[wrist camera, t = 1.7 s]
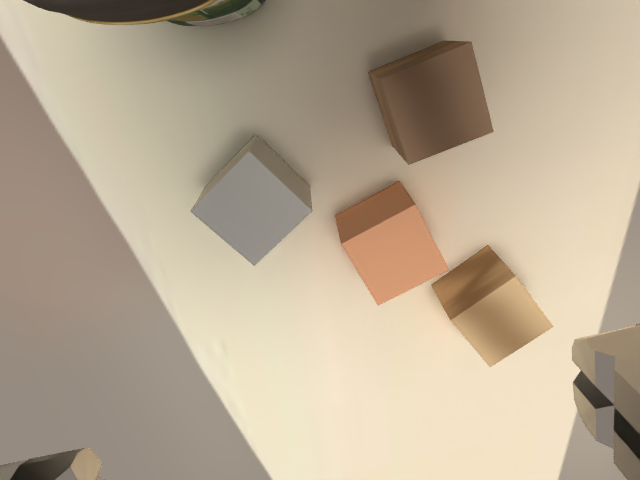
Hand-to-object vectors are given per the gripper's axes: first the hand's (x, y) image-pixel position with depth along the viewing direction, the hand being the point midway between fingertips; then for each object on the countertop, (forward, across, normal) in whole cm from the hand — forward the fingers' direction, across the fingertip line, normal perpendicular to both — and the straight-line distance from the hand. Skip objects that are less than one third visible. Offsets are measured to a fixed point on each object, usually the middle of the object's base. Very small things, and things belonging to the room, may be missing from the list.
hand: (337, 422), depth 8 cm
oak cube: (+26, -10, +14) cm, 31 cm away
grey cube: (+26, +3, +2) cm, 26 cm away
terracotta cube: (+26, -4, +7) cm, 27 cm away
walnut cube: (+25, -8, -2) cm, 27 cm away
